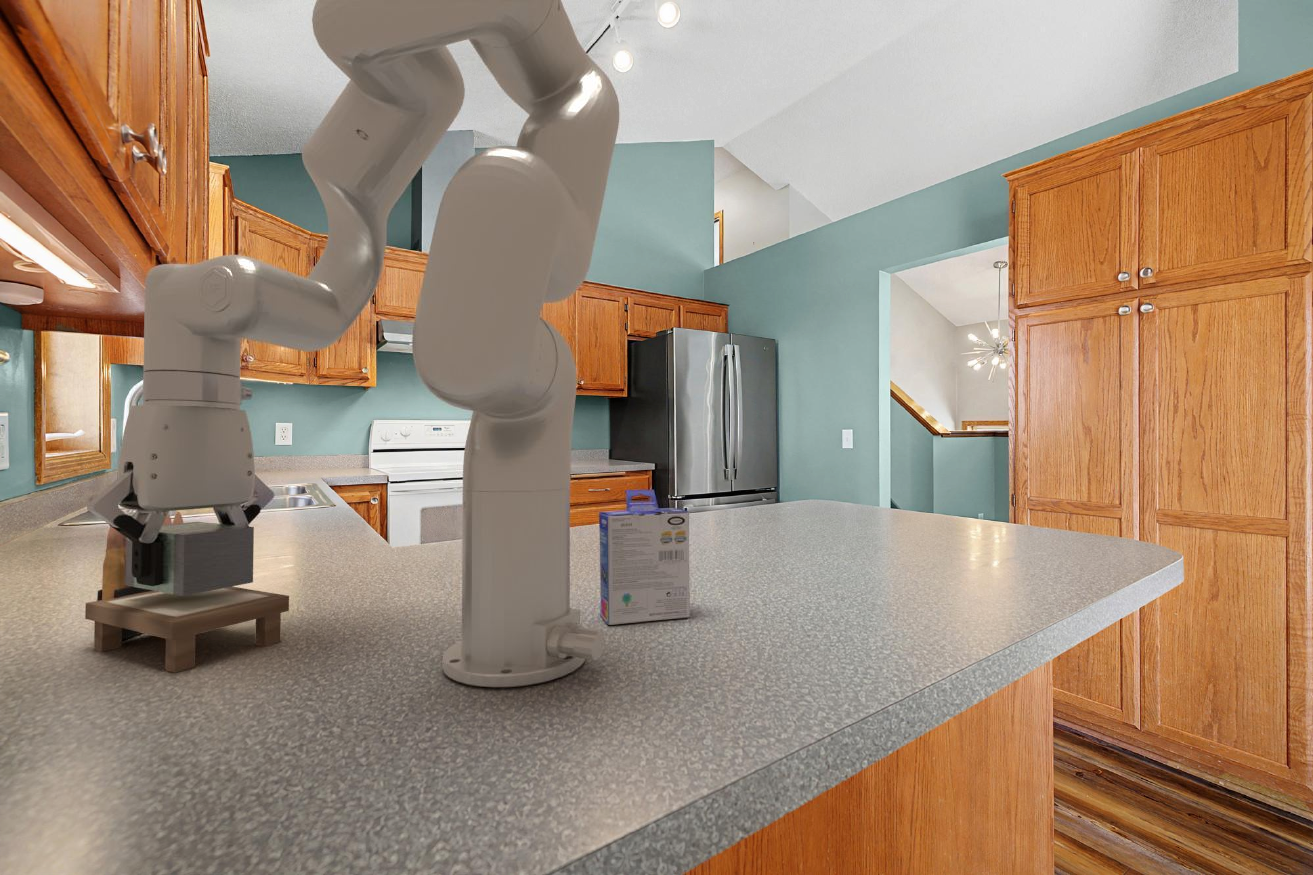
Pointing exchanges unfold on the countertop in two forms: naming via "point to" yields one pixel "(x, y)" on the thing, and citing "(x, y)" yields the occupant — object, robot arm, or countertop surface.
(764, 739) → the countertop surface
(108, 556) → the ammunition clip
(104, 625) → the stand
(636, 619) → the ink cartridge box
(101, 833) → the countertop surface
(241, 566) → the block
